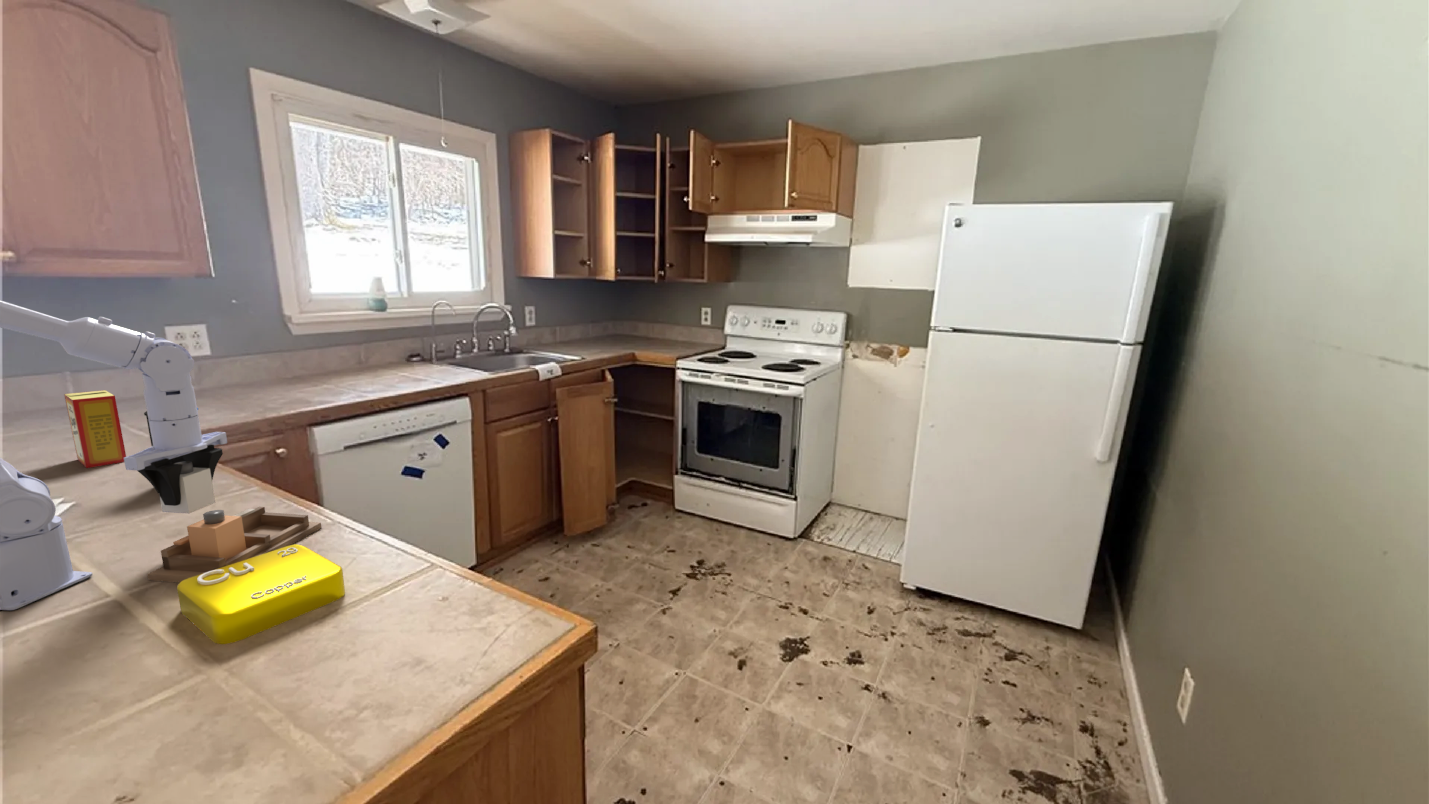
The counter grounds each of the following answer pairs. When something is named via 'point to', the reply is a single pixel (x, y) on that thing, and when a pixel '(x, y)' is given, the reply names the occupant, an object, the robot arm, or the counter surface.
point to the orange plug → (217, 535)
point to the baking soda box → (95, 428)
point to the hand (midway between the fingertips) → (188, 498)
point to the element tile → (259, 592)
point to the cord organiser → (260, 538)
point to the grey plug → (193, 490)
